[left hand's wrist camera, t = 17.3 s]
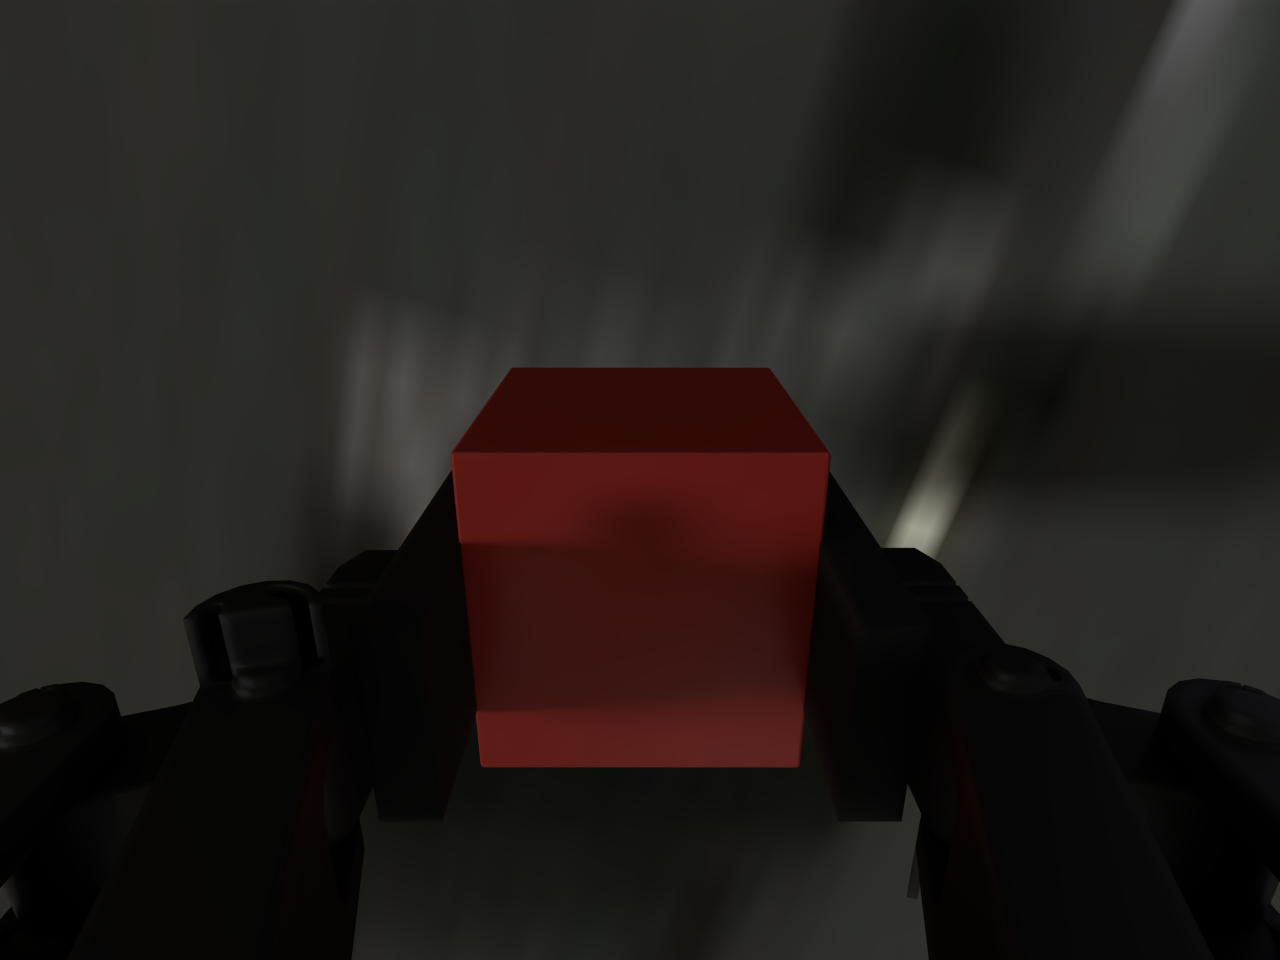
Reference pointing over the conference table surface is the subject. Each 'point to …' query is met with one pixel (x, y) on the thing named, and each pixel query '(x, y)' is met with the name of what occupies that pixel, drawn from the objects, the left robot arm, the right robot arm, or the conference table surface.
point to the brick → (640, 567)
